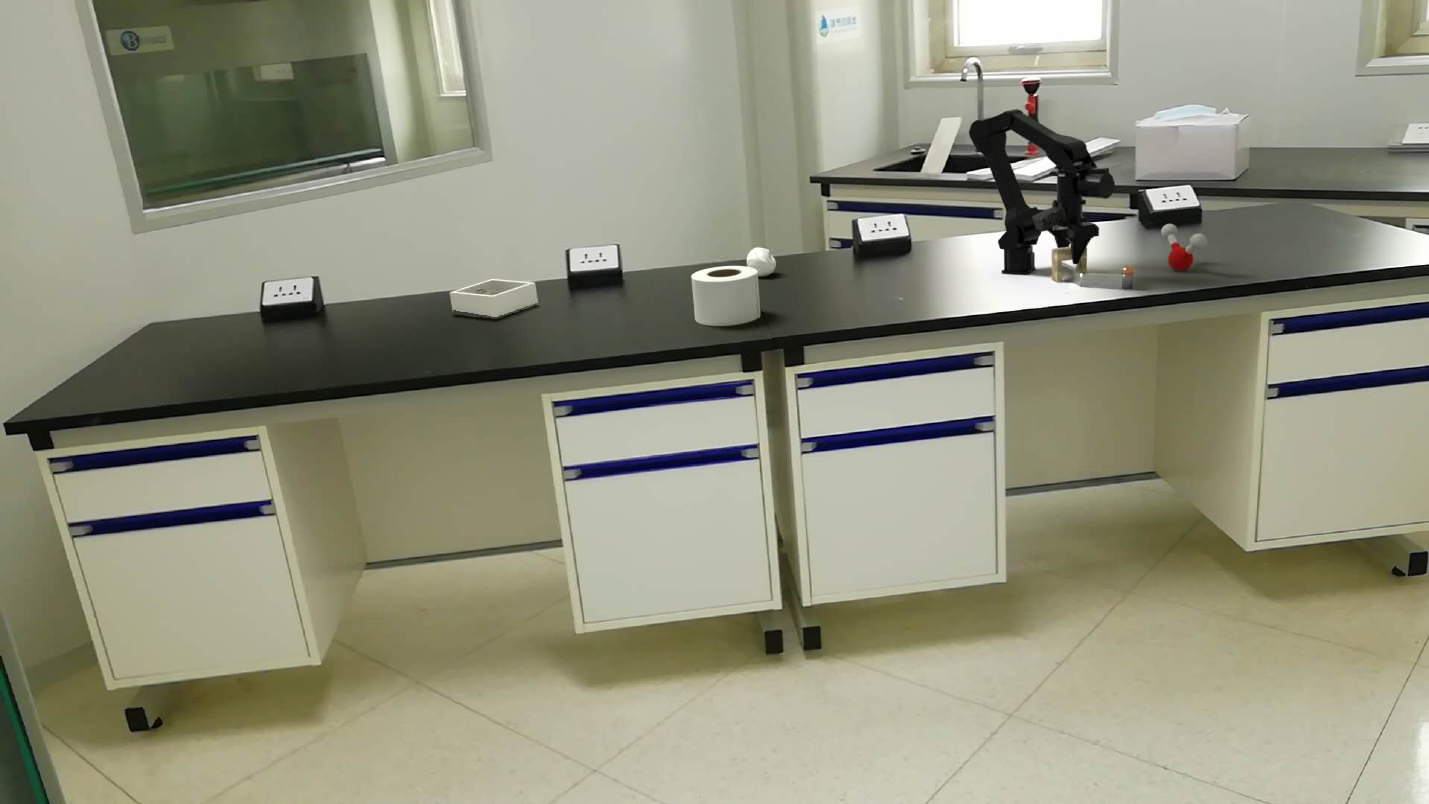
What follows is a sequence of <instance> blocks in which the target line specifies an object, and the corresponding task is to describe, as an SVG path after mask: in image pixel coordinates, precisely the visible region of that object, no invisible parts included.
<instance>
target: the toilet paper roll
mask: <svg viewBox="0 0 1429 804" xmlns="http://www.w3.org/2000/svg"><path fill="white" fill-rule="evenodd" d="M690 277H691V288H692V298H693V300H692V301H693V308H694V310H693V311H694V320H695V322H696V323H697V324H699V325H704V326H711V327H729V326H738V325H743V324H747V323H751V322H753V321H755V320H757V319H760V317H761V304H760V290H759V289H760V288H759V287H760V286H759V276H758V272H757V270H756V269H754V268H751V267H748V266H745V265H744V266H743V265H726V266H725V265H724V266H715V267H710V268H705V269H701V270H698V271H696V272H694V273H693V274H691V276H690Z"/></svg>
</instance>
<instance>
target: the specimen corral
mask: <svg viewBox="0 0 1429 804" xmlns="http://www.w3.org/2000/svg"><path fill="white" fill-rule="evenodd" d="M478 288H482V289H485V290H494V291H498V292H501V293H499V294H496V295H483V294H476V292H477V289H478ZM449 296H450V297H449V298H450V303H451V308H452V309H451V310H452V311H453V310H456V311H460V312H468V313H474V314H479V315H487V316H491V317H498V316H500V315H504V314H507V313H509V312H513V311H515V310H517V309H521V308H524V307H526V306H530V305H533V304H535V303H538V304H539V300H538V293H537V288H536V282H531V281H521V280H509V279H508V280H507V279H498V278H497V279H496V278H492V279H488V280H485V281H481V282H479V283H475V284H471V285H469V286H465V287H463V288H459V289H455V290H454V291H450V292H449Z"/></svg>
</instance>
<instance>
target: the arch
mask: <svg viewBox="0 0 1429 804" xmlns="http://www.w3.org/2000/svg"><path fill="white" fill-rule="evenodd" d="M1067 261H1072V254H1071V246H1069V247H1063V248H1051V280H1052V281H1054V282H1055V283H1061V282H1062V281H1063V278H1062V262H1067ZM1075 265H1076V267H1075V268H1077V269H1079V270H1082V271H1084V272H1086V273H1088V272H1087V271H1088V270H1087V269H1088V267H1087V266H1088V247H1086V249H1085V250H1084V252H1083V254H1082V256H1081V258H1080V260H1079V262H1078V264H1075Z"/></svg>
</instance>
